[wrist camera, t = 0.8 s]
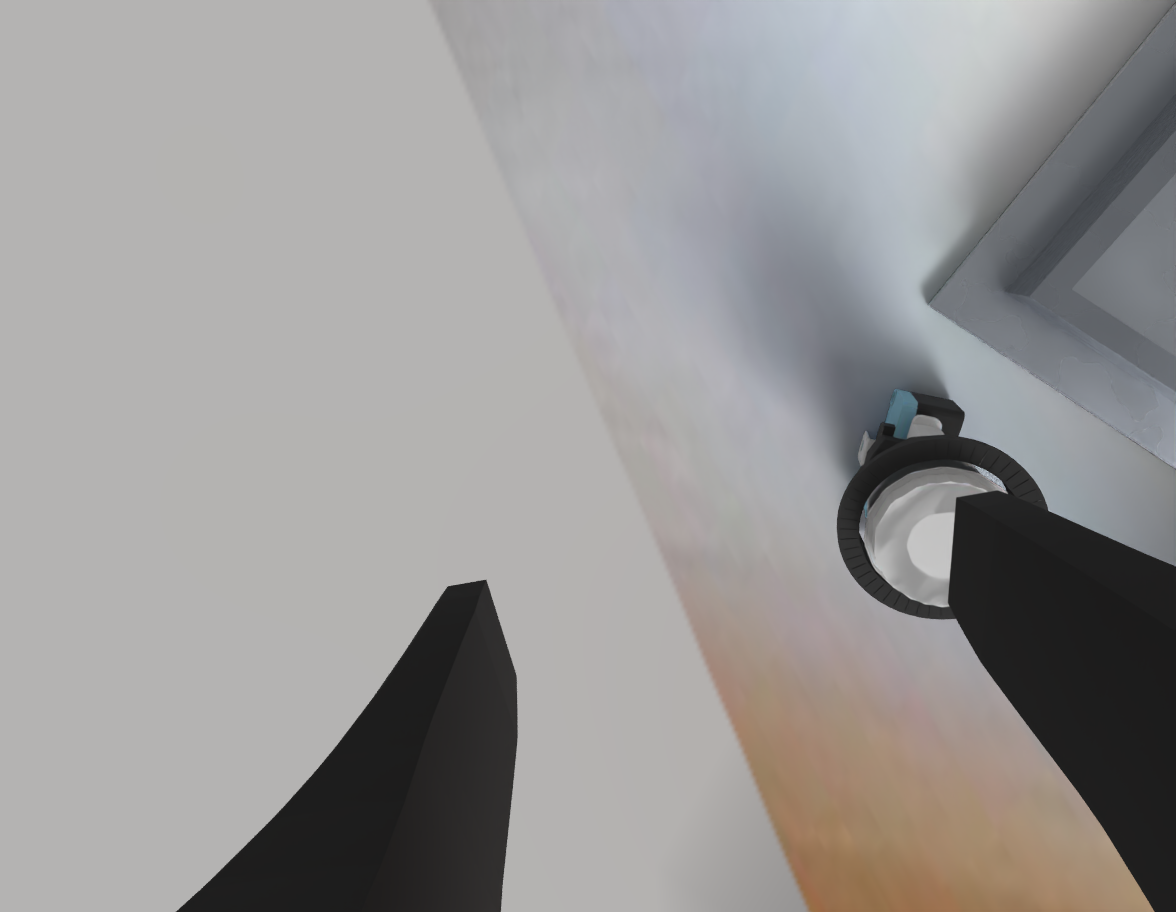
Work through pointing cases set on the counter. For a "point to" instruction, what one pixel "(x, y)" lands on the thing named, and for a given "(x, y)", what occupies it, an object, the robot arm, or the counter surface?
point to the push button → (917, 502)
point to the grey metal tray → (1093, 258)
